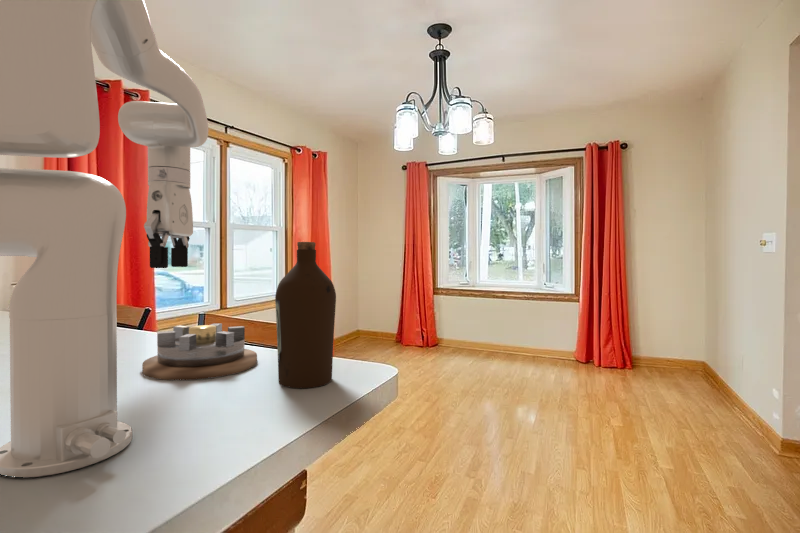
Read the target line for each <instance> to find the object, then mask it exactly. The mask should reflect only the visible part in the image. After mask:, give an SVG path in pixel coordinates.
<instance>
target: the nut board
mask: <svg viewBox="0 0 800 533" xmlns="http://www.w3.org/2000/svg"><path fill="white" fill-rule="evenodd" d="M257 363H258V354H257V352H256V351H254V350H251V349H247V348H244V356H243V357H241V358H239V359H237V360H234V361H230V362H226V363H221V364H215V365H206V366H193V367H177V366H167V365H163V364H160V363H158V361H157V355H153V356H151V357H149V358H147V359H145V360H144V361H143V362H142V363H141V364H142V366H141V367H142V368H141V369H142V370H141V371H142V374H143V375H144V376H145V377H147V378H151V379H154V380H155V379H156V380H162V381H163V380H164V381H192V380H193V381H195V380H207V379H214V378H221V377H226V376H231V375H235V374H238V373H242V372H245V371H247V370H250V369H252V368H253V367H255V366H256V365H257Z"/></svg>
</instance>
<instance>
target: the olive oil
mask: <svg viewBox="0 0 800 533" xmlns="http://www.w3.org/2000/svg"><path fill="white" fill-rule="evenodd" d="M296 245H297V249H296V263H295V265H294V266H293V267H292V268H291V269H290V270H289V271H288V272H287V274H285V275H284V276H283V277H282V279H281V280H280V281H279V283H278V285H277V287H276V290H275V291H276V292H275V298H274V301H275V303H274V305H275V320H276V321H275V322H276V344H277V345H276V346H277V366H278V367H277V371H278V374H277V376H278V384H280V385H281V386H283V387H285V388H290V389H312V388H319V387H323V386H326V385H328V384H329V383H331V382H332V380H333V379H332V378H333V360H334V359H333V358H334V352H333V351H334V341H335V340H334V339H335V338H334V337H335V322H336V321H335V318H336V306H337V305H336V304H337V293H336V289H335V285H334V283H333V282H332V280H331V279H330V278H329V276H328V275H327V274H326V273H325V272H324V271H323V270H322V269H321V267H320V266H319V265H318V264H317V250H316V245H317V244H316V242H314V241H298V242H297V244H296Z"/></svg>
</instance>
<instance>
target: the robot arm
mask: <svg viewBox="0 0 800 533" xmlns="http://www.w3.org/2000/svg"><path fill="white" fill-rule="evenodd" d="M92 47H93V49H94V51H95V53H96V56H97V58H98V59H99V61H100V62H101V64H102V65H103V66H104V67H105V68H106V69H107V70H108V71H110V72H111V73H113V74H115V75H117V76H119V77H121V78H123V79H125V80H126V81H129V82H132V83H135V84H136V85H138V86H141V87H143V88H146V89H149V90H151V91H153V92H156V93H158V94H160V95H162V96H164V97H166V98H167V99H169V100H171V101H172V102H173V103H170V102H162V101H161V102H156V101H155V102H154V101H146V100H145V101H143V100H131V101H127V102H125V103H124V104H122V105H121V106H120V108H119V110H118V114H117V121H118V126H119V127H120V128H119V129H120V130H121V132H122V133H123V135H125V137H126V138H127V139H129V140H130V141H131V142H133V143H135V144H138V145H142V146H146V147H147V185H148V193H147V204H146V205H147V206H146V221H145V222H144V224H143V228H144V230H145V233H146V238H147V240H148V241H147V246H148V247H149V268H151V269H167V268H168V267H169V247H168V246H167V247H166V245H167V243H168V239H169V237H170V239H171V244H172V247H171V248H170V252H171V253H170V254H171V255H170V261H171V262H170V266H171V267H173V268H187V267H188V266H189V264H188V262H189V260H188V259H189V258H188V257H189V251H188V250H189V245H190V244H189V241H190V237H191V236H192V235H193V234H194V220H193V219H194V217H193V215H194V214H193V203H192V202H193V201H192V197H191V191H190V190H191V148H198V147H200V146H203V145H204V144H205V143H206V141H207V139H208V137H209V123H208V116H207V113H206V109H205V104H204V101H203V97H202V94H201V92H200V89H199V87H198V85H197V84H196V83H195V81H194V80H193V79H192V77H191V76H190V75H189V74H188V72H186V71H185V70H184V69H183V67H181V66H180V65H179V64H178V63H176V61H174V60H173V59H172V58H170V56H168V55H167V54H166V53H164V52H163V51H162V50H161V49H160V47H159V44H158V42H157V38H156V34H155V31H154V29H153V26H152V23H151V19H150V16H149V13H148V9H147V5H146V3H145V0H0V156H14V157H17V156H18V157H33V158H57V159H58V158H59V159H60V158H63V159H64V158H67V159H68V158H78V157H83V156H86V155H88V154H90V153H91V154H92V152H94V151H95V149H96V148H97V146H98V144H99V140H100V134H101V132H100V131H101V130H100V129H101V128H100V127H101V125H100V124H101V123H100V122H101V121H100V110H99V101H98V99H99V98H98V92H97V91H98V90H97V82H96V74H95V73H96V72H95V67H94V57H93V50H92ZM126 219H127V207H126V202H125V199H124V196H123V194H122V193H121V191H120V189H118V188H117V186H115V185H114V184H113V183H111V181H108V180H106V179H105V178H103V177H101V176H98V175H95V174H92V173H85V172H81V171H74V170H73V171H71V170H58V169H57V170H56V169H36V168H9V167H8V168H4V167H0V257H29V258H30V257H31V258H36V259H35V260H34V261H33V263H32V264H31V266H29V268H28V269H27V270H26V271H25V272H24V274H22V276H21V277H20V279H19V280H18V281H17V283H16V285H14V288H13V290H12V293H11V295H10V297H9V298H10V299H9V304H8V305H9V306H8V308H9V309H8V310H9V311H8V313H9V314H8V315H9V378H10V379H9V380H10V382H9V383H10V384H9V385H10V388H9V390H10V391H9V392H10V396H9V397H10V441H9V442H6V443H5V444H3V445H1V446H0V474H1V475H7V476H13V477H12V478H15V477H23V478H25V479H26V478H37V477H46V476H51V475H57V474H62V473H67V472H70V471H74V470H80V469H83V468H86V467H88V466H91V465H94V464H97V463H100V462H102V461H104V460H106V459H108V458H111V457H113V456H114V455H115V456H116V454H118V453H120V452H121V451H123V450H124V449H125V448H126V447H128V445H130V443H131V442H132V440H133V428H132V426H130V425H129V424H127V423H125V422H122V421H119V420H118V373H117V372H118V351H117V350H118V347H117V345H118V344H117V342H118V341H117V340H118V339H117V336H118V334H117V333H118V332H117V330H118V328H117V325H118V324H117V323H118V322H117V320H118V319H117V318H118V317H117V316H118V315H117V313H118V312H117V311H118V310H117V307H118V306H117V299H118V296H117V293H118V292H117V290H118V289H117V288H118V286H117V285H118V269H119V261H120V253H121V247H122V242H123V238H124V232H125V228H126ZM1 475H0V476H1ZM14 476H15V477H14ZM23 478H22V479H23Z"/></svg>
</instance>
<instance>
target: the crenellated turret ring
mask: <svg viewBox="0 0 800 533" xmlns="http://www.w3.org/2000/svg"><path fill="white" fill-rule="evenodd" d="M172 328H173V329H172V331H171V330H170V331H157V332H156V333H157V334H156V342H157V343H156V346H157V347H156V348H157V355H156V356H157V361H158V363H160V364H163V365H167V366H177V367H193V366H206V365H215V364H221V363H226V362H230V361H234V360H237V359H239V358H241V357H243V356H244V349H245V340H246V338H245V331H246V330H245V329H246V328H245V326H244V325H240V326H239V325H238V326H237V325H236V326H227V331H225V330H223V323H218V322H217V323H211V324H209V325H208V324H205V325H204V324H202V325H194V326H187V325H186V326H185V325H176V326H172Z"/></svg>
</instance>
